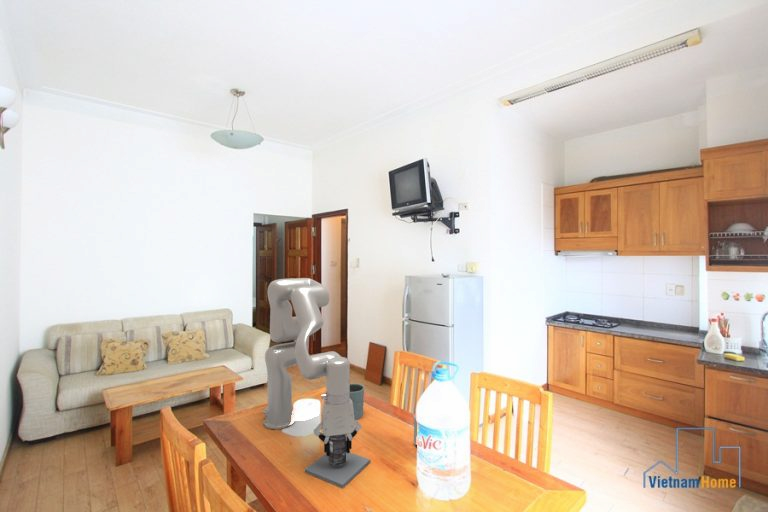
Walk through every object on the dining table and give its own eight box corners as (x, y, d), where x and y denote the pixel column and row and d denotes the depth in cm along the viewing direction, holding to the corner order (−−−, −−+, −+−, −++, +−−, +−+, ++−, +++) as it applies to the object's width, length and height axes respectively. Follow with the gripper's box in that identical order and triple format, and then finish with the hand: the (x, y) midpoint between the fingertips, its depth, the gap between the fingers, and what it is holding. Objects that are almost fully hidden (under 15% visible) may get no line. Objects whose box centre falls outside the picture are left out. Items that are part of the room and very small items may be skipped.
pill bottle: (349, 457, 117) (349, 423, 117) (343, 468, 111) (343, 432, 111) (332, 455, 118) (332, 421, 118) (325, 465, 113) (325, 429, 113)
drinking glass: (363, 421, 146) (363, 392, 146) (338, 421, 147) (338, 391, 146) (364, 410, 157) (364, 383, 156) (342, 410, 157) (342, 383, 157)
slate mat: (304, 472, 112) (304, 469, 112) (334, 449, 125) (334, 446, 125) (342, 488, 104) (342, 484, 104) (370, 462, 117) (370, 459, 117)
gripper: (311, 404, 109) (311, 463, 109) (366, 398, 113) (366, 455, 113) (310, 395, 116) (309, 449, 116) (362, 390, 120) (361, 442, 121)
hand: (337, 451), depth 115 cm, fingers closed on pill bottle, 6 cm apart
